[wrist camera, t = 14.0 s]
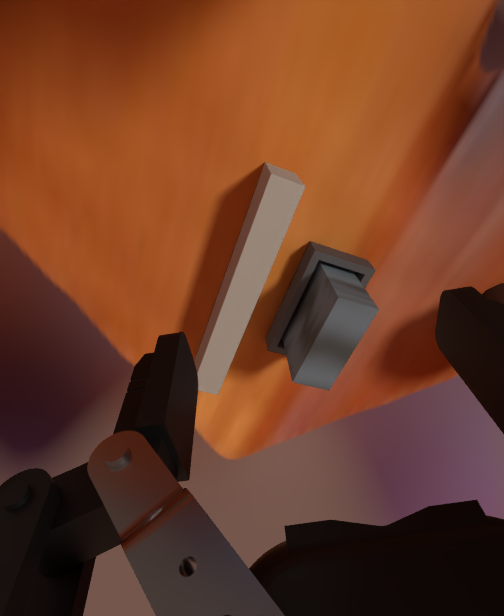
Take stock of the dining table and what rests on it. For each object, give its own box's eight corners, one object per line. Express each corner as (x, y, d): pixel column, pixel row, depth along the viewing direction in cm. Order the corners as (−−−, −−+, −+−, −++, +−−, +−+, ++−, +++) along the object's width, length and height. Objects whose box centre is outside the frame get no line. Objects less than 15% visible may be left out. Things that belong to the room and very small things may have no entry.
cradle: (310, 241, 37) (315, 250, 35) (367, 260, 39) (375, 269, 37) (265, 338, 43) (267, 350, 41) (316, 351, 45) (321, 363, 43)
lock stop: (317, 259, 38) (338, 297, 31) (351, 269, 39) (379, 309, 32) (281, 334, 43) (292, 382, 36) (312, 342, 44) (329, 390, 37)
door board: (265, 162, 33) (271, 173, 29) (295, 173, 34) (305, 186, 30) (194, 359, 44) (191, 389, 40) (218, 365, 45) (217, 394, 41)
